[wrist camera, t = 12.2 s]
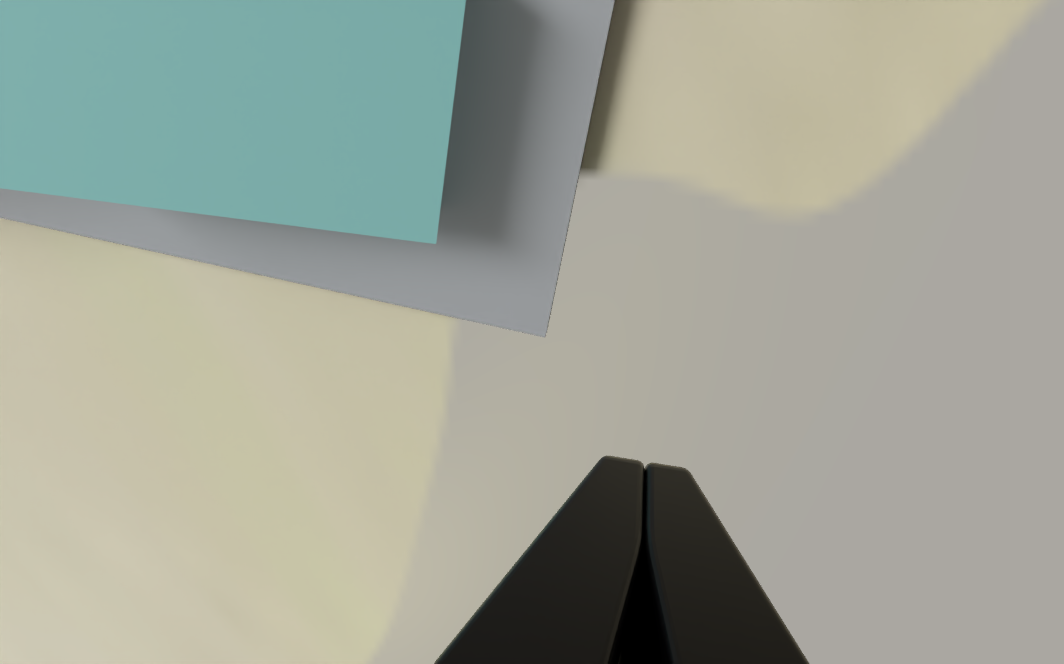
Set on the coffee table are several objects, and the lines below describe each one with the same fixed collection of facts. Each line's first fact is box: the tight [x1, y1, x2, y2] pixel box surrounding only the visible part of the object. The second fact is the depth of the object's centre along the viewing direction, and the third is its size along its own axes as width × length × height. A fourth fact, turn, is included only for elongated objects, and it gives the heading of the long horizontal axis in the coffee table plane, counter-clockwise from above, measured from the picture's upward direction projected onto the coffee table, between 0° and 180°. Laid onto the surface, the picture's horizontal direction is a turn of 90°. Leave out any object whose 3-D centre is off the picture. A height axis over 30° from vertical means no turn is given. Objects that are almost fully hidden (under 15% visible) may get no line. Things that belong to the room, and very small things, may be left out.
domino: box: [0, 0, 466, 244], centre depth 17 cm, size 2×5×9 cm
